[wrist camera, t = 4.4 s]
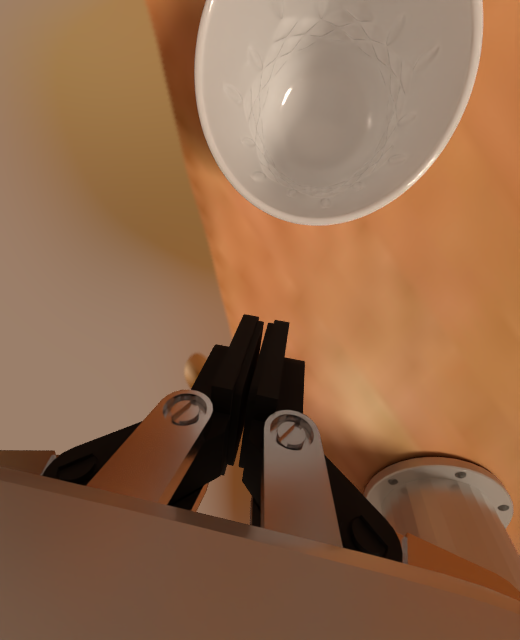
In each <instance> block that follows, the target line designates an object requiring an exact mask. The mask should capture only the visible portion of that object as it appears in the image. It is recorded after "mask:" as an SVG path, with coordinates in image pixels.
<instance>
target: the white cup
mask: <svg viewBox="0 0 520 640" xmlns="http://www.w3.org/2000/svg"><path fill="white" fill-rule="evenodd" d="M482 38H483V1H482V0H206V2H205V5H204V8H203V12H202V16H201V20H200V24H199V29H198V35H197V41H196V50H195V64H194V81H195V95H196V103H197V109H198V114H199V119H200V123H201V126H202V130H203V133H204V136H205V139H206V142H207V144H208V147H209V149H210V151H211V153H212V155H213V157H214V159H215V161H216V163H217V165H218V166H219V168H220V170H221V171H222V173H223V174H224V176H225V177H226V178H227V180H228V181H229V182H230V183H231V185H232V186H233V187H234V188H235V189H236V190H237V191H238V192H239V193H240V194H241V195H242V196H243V197H244V198H245V199H246V200H248V201H249V202H250V203H251V204H253V205H254V206H256V207H257V208H259V209H260V210H262V211H264V212H265V213H267V214H269V215H271V216H274V217H276V218H279V219H281V220H284V221H288V222H291V223H296V224H302V225H313V226H321V225H333V224H339V223H344V222H348V221H352V220H355V219H358V218H361V217H363V216H366V215H368V214H370V213H373V212H375V211H377V210H378V209H380V208H382V207H384V206H385V205H387V204H389V203H390V202H392V201H393V200H395V199H396V198H398V197H399V196H400V195H401V194H403V193H404V192H405V191H406V190H408V189H409V188H410V187H411V186H412V185H413V184H414V183H415V182H416V181H417V180H418V179H419V178H420V177H421V176H422V175H423V174H424V173H425V172H426V171H427V170H428V169H429V168H430V166H431V165H432V164H433V163H434V161H435V160H436V159H437V158H438V156H439V155H440V153H441V152H442V151H443V149H444V148H445V146H446V145H447V143H448V141H449V140H450V138H451V136H452V135H453V133H454V131H455V129H456V127H457V125H458V123H459V121H460V119H461V117H462V115H463V113H464V110H465V108H466V106H467V103H468V100H469V98H470V95H471V92H472V89H473V85H474V82H475V78H476V74H477V70H478V66H479V61H480V55H481V48H482Z"/></svg>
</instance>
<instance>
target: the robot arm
mask: <svg viewBox="0 0 520 640" xmlns="http://www.w3.org/2000/svg"><path fill="white" fill-rule="evenodd" d="M263 325H264V322H262V321H259V317H256V316H251V315H245V314H244V315H243V317H242V320H241V322H240V324H239V326H238V328H237V331H236V333H235V335H234V337H233V339H232V342H231V344H230V346H229V347H227V346H222V345H215V346H214V347H213V349H212V351H211V353H210V355H209V357H208V359H207V360H206V362H205V364H204V366H203V368H202V370H201V372H200V373H199V375H198V377H197V379H196V381H195V383H194V385H193V386H192V388H191V390H180V391H176V392H173V393H171V394H169V395H167V396H166V397H165V398H163V399H162V400H161V401H160V402H159V403H158V405H157V406H156V407H155V408H154V409H153V410H152V411H151V413H150V414H149V415H148V416H147V417H146V418H145V419H144V420H143V421H142V422H139V423H137V424H134V425H132V426H129V427H126V428H124V429H121V430H118V431H116V432H113V433H110V434H108V435H105V436H103V437H100V438H97V439H95V440H92V441H89V442H87V443H84V444H82V445H79V446H77V447H74V448H72V449H70V450H68V451H66V452H64V453H62V454H61V455H56V454H55V451H31V450H29V451H28V450H26V451H25V450H23V451H19V450H0V640H520V556H519V554H518V552H517V550H516V548H515V546H514V545H513V543H512V541H511V539H510V537H509V535H508V533H507V531H506V527H507V526H508V524H509V523H510V521H511V519H512V516H513V502H512V500H511V497H510V495H509V493H508V492H507V490H506V489H505V487H504V485H503V484H502V482H501V481H500V480H499V479H498V478H497V477H496V476H495V475H493V474H492V473H490V472H489V471H487V470H486V469H484V468H482V467H480V466H477V465H475V464H473V463H470V462H466V461H462V460H458V459H453V458H445V457H422V458H414V459H409V460H405V461H401V462H398V463H395V464H393V465H391V466H388V467H386V468H385V469H383V470H382V471H380V472H378V473H377V474H376V475H375V476H374V477H373V478H372V479H371V480H370V481H369V483H368V485H367V486H366V488H365V492H364V496H363V495H362V494H361V492H360V491H359V490H358V489H357V488H356V487H355V486H354V485H353V484H352V483H351V482H350V481H349V480H348V479H347V478H346V477H345V476H344V475H343V474H342V473H341V472H340V471H339V470H338V469H337V467H336V466H335V465H334V464H333V463H332V462H331V461H330V460H329V459H328V458H327V457H326V456H325V455H324V452H323V447H322V442H321V438H320V433H319V431H318V428H317V426H316V425H315V423H314V422H313V421H312V420H311V419H310V418H308V417H307V416H306V415H304V414H303V395H304V372H305V362H304V361H300V360H295V359H290V358H285V357H284V356H285V349H286V342H287V336H288V329H289V322H284V321H278V320H275V321H274V324H273V323H268V325H267V329H266V332H265V336H264V340H263V343H262V347H261V350H260V346H261V339H262V332H263ZM259 353H260V354H259ZM243 428H244V431H243ZM242 432H243V438H242V446H241V453H240V460H239V467H241V468H244V471H243V479H242V481H243V483H244V484H245V486H246V488H247V489H248V490H249V492H250V494H251V495H252V498H251V508H250V509H251V510H250V525H248V524H243V523H239V522H235V521H231V520H227V519H223V518H218V517H214V516H210V515H206V514H202V513H198V512H196V511H197V509H198V507H199V505H200V503H201V501H202V499H203V497H204V495H205V493H206V490H207V487H208V483H209V482H210V481H212V480H214V479H216V478H217V477H219V476H220V475H224V474H225V470H226V467H227V464H228V465H232V466H233V465H234V462H235V458H236V454H237V451H238V447H239V442H240V439H241V435H242Z"/></svg>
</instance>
